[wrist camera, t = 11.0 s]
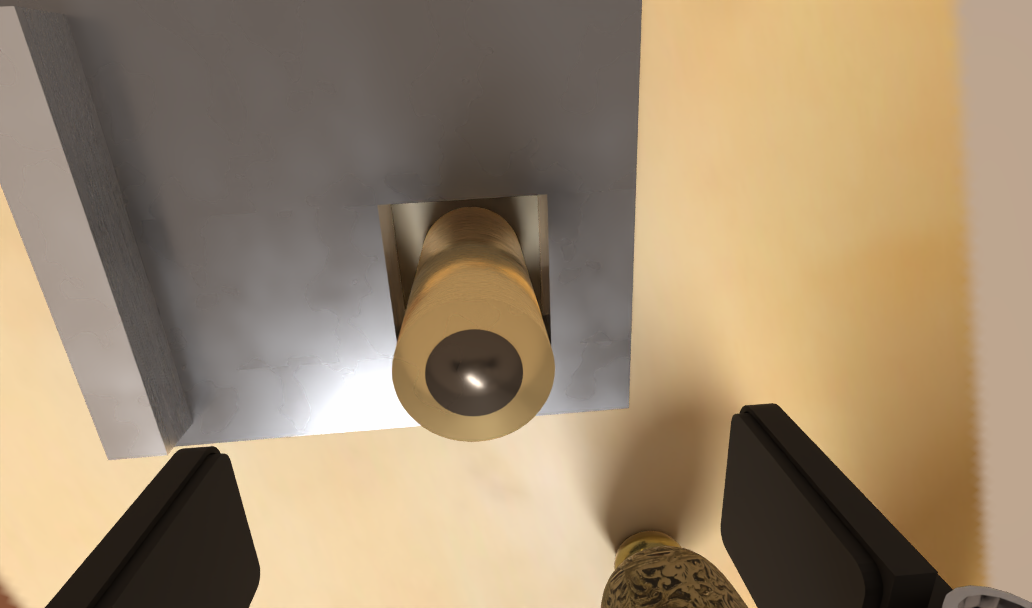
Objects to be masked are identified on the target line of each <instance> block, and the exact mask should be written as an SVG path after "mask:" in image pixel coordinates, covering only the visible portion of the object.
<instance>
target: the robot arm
mask: <svg viewBox="0 0 1032 608" xmlns="http://www.w3.org/2000/svg"><path fill="white" fill-rule="evenodd" d="M721 536H722V540H723V543H724V546H725V548H726V550H727V552H728V554H729V556H730V557H731V559H732V561H733V563H734V565H735V567H736V568H737V570H738V572H739V574H740V576H741V578H742V580H743V581H744V583H745V585H746V587H747V589H748V591H749V593H750V594H751V596H752V598H753V600H754V602H755V604H756V606H757V607H758V608H1032V603H1031V602H1029V601H1027V600H1024V599H1022V598H1020V597H1018V596H1015V595H1013V594H1011V593H1008V592H1004V591H1001V590H997V589H994V588H990V587H982V586H965V587H959V588H955V589H954V590H953V589H952V588H951V587H950V586H949V585H948V584H947V583H946V582H945V581H944V580H943V579H942V578H941V577H940V576H939V575H938V574H937V573H938V572H937V571H936V570H935V569H934V568H933V567H932V566H931V565H930V564H929V562H928V561H927V560H926V559H925V558H924V557H923V556H922V555H921V554H920V553H919V552H918V551H917V550H916V549H915V548H914V547H913V546H912V545H911V544H910V543H909V542H908V540H907V539H906V538H905V537H904V536H903V535H902V534H901V533H900V532H899V531H898V530H897V529H896V528H895V527H894V526H893V525H892V524H891V523H890V522H889V521H888V520H887V519H886V517H885V516H884V515H883V514H882V513H881V512H880V511H879V510H878V509H877V508H876V507H875V506H874V505H873V504H872V503H871V502H870V501H869V500H868V499H867V498H866V497H865V495H864V494H863V493H862V492H861V491H860V490H859V489H858V488H857V487H856V486H855V485H854V484H853V483H852V482H851V481H850V480H849V479H848V478H847V477H846V476H845V475H844V474H843V472H842V471H841V470H840V469H839V468H838V467H837V466H836V465H835V464H834V463H833V462H832V461H831V460H830V459H829V458H828V457H827V456H826V455H825V454H824V453H823V452H822V450H821V449H820V448H819V447H818V446H817V445H816V444H815V443H814V442H813V441H812V440H811V439H810V438H809V437H808V436H807V435H806V434H805V433H804V432H803V431H802V430H801V429H800V427H799V426H798V425H797V424H796V423H795V422H794V421H793V420H792V419H791V418H790V417H789V416H788V415H787V414H786V413H785V412H784V411H783V410H782V409H781V408H780V407H779V406H778V405H777V404H773V403H771V404H758V405H745V406H743V407H742V409H741V411H740V414H735V415H733V417H732V421H731V430H730V439H729V449H728V459H727V469H726V479H725V488H724V498H723V508H722V518H721ZM259 580H260V566H259V562H258V558H257V554H256V551H255V547H254V544H253V540H252V536H251V533H250V529H249V526H248V522H247V518H246V515H245V511H244V507H243V504H242V500H241V497H240V493H239V489H238V486H237V482H236V479H235V475H234V471H233V468H232V464H231V461H230V458H229V456H228V455H227V454H221V453H220V451H219V450H218V449H217V448H216V447H214V446H211V447H198V448H185V449H180V450H178V451H177V452H176V453H175V454H174V455H173V456H172V457H171V459H170V460H169V461H168V462H167V463H166V465H165V466H164V467H163V468H162V469H161V471H160V472H159V473H158V474H157V475H156V476H155V478H154V479H153V480H152V481H151V482H150V484H149V485H148V486H147V487H146V488H145V490H144V491H143V492H142V493H141V494H140V495H139V497H138V498H137V499H136V500H135V501H134V503H133V504H132V505H131V506H130V507H129V509H128V510H127V511H126V512H125V513H124V514H123V516H122V517H121V518H120V519H119V520H118V522H117V523H116V524H115V525H114V526H113V528H112V529H111V530H110V531H109V532H108V533H107V535H106V536H105V537H104V538H103V539H102V541H101V542H100V543H99V544H98V545H97V547H96V548H95V549H94V550H93V551H92V552H91V554H90V555H89V556H88V557H87V558H86V560H85V561H84V562H83V563H82V564H81V566H80V567H79V568H78V569H77V570H76V571H75V573H74V574H73V575H72V576H71V577H70V579H69V580H68V581H67V582H66V583H65V585H64V586H63V587H62V588H61V589H60V590H59V592H58V593H57V594H56V595H55V596H54V598H53V599H52V600H51V601H50V602H49V604H48V605H47V606H46V607H45V608H249V606H250V604H251V601H252V599H253V597H254V595H255V592H256V590H257V587H258V585H259Z"/></svg>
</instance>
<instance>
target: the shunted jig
mask: <svg viewBox="0 0 1032 608" xmlns="http://www.w3.org/2000/svg"><path fill="white" fill-rule="evenodd" d="M641 13H642V0H0V184H1V187H2V189H3V192H4V195H5V197H6V200H7V202H8V205H9V207H10V210H11V212H12V215H13V218H14V220H15V223H16V225H17V228H18V230H19V233H20V235H21V238H22V241H23V243H24V246H25V248H26V251H27V253H28V256H29V258H30V261H31V264H32V266H33V269H34V271H35V274H36V276H37V279H38V281H39V284H40V287H41V289H42V292H43V294H44V297H45V299H46V302H47V304H48V307H49V310H50V312H51V315H52V317H53V320H54V322H55V325H56V327H57V330H58V333H59V335H60V338H61V340H62V343H63V345H64V348H65V350H66V353H67V356H68V358H69V361H70V363H71V366H72V368H73V371H74V373H75V376H76V379H77V381H78V384H79V386H80V389H81V391H82V394H83V396H84V399H85V402H86V404H87V407H88V409H89V412H90V414H91V417H92V419H93V422H94V425H95V427H96V430H97V432H98V435H99V437H100V440H101V442H102V445H103V448H104V450H105V453H106V455H107V458H108V460H116V459H127V458H139V457H151V456H162V455H168V454H169V452H170V451H171V450H172V449H173V447H175V446H187V445H199V444H210V443H222V442H234V441H246V440H257V439H269V438H281V437H293V436H305V435H316V434H328V433H340V432H352V431H363V430H375V429H387V428H399V427H410V426H421V425H420V424H418V423H417V422H416V421H415V420H414V419H413V418H412V417H411V416H410V415H409V414H408V413H407V412H406V410H405V409H404V408H403V406H402V405H401V403H400V401H399V399H398V397H397V395H396V392H395V389H394V385H393V381H392V361H393V357H394V352H395V349H396V345H397V341H398V337H399V334H400V330H401V326H402V323H403V319H404V315H405V306H404V299H403V291H402V283H401V276H400V268H399V261H398V253H397V246H396V238H395V231H394V223H393V216H392V208H391V204H402V203H418V202H434V201H450V200H465V199H481V198H497V197H513V196H529V195H538V213H539V243H540V273H541V303H542V319H543V322H544V325H545V328H546V331H547V335H548V338H549V341H550V344H551V348H552V351H553V355H554V361H555V377H554V382H553V386H552V389H551V392H550V395H549V397H548V399H547V401H546V403H545V404H544V405H543V407H542V408H541V410H540V411H539V412H538V413H537V414H536V415H535V416H540V415H552V414H563V413H575V412H587V411H599V410H610V409H622V408H629V385H630V354H631V323H632V292H633V261H634V230H635V199H636V168H637V137H638V106H639V75H640V44H641Z"/></svg>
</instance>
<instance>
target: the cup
mask: <svg viewBox="0 0 1032 608" xmlns="http://www.w3.org/2000/svg"><path fill="white" fill-rule="evenodd" d="M614 569H615V571H614V572H613V573H612V575H611V576H610V578H609V580H608V582H607V584H606V587H605V590H604V593H603V597H602V602H601V608H748V607H747V605H746V604H745V603H744V601H743V600H742V598H741V597H740V595H739V594H738V593H737V591H736V590H735V589H734V587H733V586H732V584H731V583H730V582H729V581H728V580H727V578H726V577H725V576H724V575H723V574H722V573H721V572H720V571H719V570H718V569H717V568H716V567H715V565H713V564H712V563H711V562H709V561H708V560H707V559H705V558H704V557H703V556H701V555H699V554H697V553H695V552H693V551H690V550H688V549H684V548H681V546H680V545H679V544H678V543H677V542H676V541H675V540H674V539H673V538H671V537H670V536H669V535H667V534H665V533H662V532H659V531H643V532H639V533H636V534H634V535H632V536H630V537H629V538H627V539H626V540H625V541H624V542H623V543H622V544H621V545H620V547H619V549H618V551H617V553H616V557H615V563H614Z"/></svg>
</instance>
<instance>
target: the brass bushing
mask: <svg viewBox="0 0 1032 608" xmlns="http://www.w3.org/2000/svg"><path fill="white" fill-rule="evenodd" d="M554 377H555V361H554V355H553V351H552V348H551V344H550V341H549V338H548V335H547V331H546V328H545V325H544V322H543V319H542V315H541V312H540V309H539V306H538V302H537V299H536V296H535V293H534V290H533V286H532V283H531V280H530V277H529V273H528V270H527V267H526V264H525V261H524V257H523V254H522V251H521V248H520V244H519V241H518V238H517V236H516V234H515V232H514V230H513V228H512V227H511V226H510V224H509V223H508V222H507V221H506V220H505V219H504V218H502V217H501V216H500V215H498V214H496V213H495V212H493V211H490V210H488V209H484V208H479V207H463V208H458V209H455V210H452V211H450V212H448V213H446V214H444V215H443V216H442V217H440V218H439V219H438V220H437V221H436V222H435V223H434V224H433V225H432V227H431V228H430V229H429V231H428V233H427V235H426V238H425V240H424V244H423V248H422V252H421V255H420V259H419V263H418V267H417V270H416V274H415V278H414V282H413V285H412V289H411V293H410V296H409V300H408V304H407V308H406V311H405V315H404V319H403V323H402V326H401V330H400V334H399V337H398V341H397V345H396V349H395V352H394V357H393V361H392V381H393V385H394V389H395V392H396V395H397V397H398V399H399V401H400V403H401V405H402V406H403V408H404V409H405V410H406V412H407V413H408V414H409V415H410V416H411V417H412V418H413V419H414V420H415V421H416V422H417V423H418V424H420V425H421V426H422V427H424V428H425V429H427V430H429V431H430V432H432V433H435V434H437V435H439V436H442V437H445V438H448V439H453V440H458V441H468V442H476V441H486V440H492V439H496V438H500V437H502V436H505V435H508V434H510V433H512V432H514V431H516V430H518V429H519V428H521V427H522V426H524V425H525V424H527V423H528V422H529V421H530V420H531V419H533V418H534V417H535V415H536V414H537V413H538V412H539V411H540V410H541V408H542V407H543V405H544V404H545V403H546V401H547V399H548V397H549V395H550V392H551V389H552V386H553V382H554Z"/></svg>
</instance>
